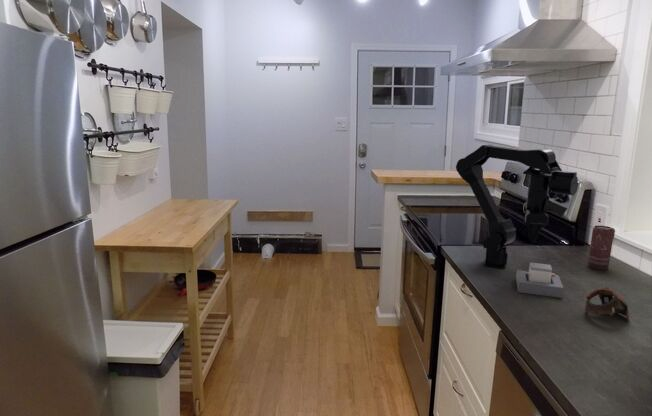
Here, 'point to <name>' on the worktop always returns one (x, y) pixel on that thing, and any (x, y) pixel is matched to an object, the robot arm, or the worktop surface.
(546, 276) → the plug
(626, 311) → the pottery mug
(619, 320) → the worktop surface
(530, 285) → the socket block
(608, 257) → the can
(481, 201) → the robot arm
